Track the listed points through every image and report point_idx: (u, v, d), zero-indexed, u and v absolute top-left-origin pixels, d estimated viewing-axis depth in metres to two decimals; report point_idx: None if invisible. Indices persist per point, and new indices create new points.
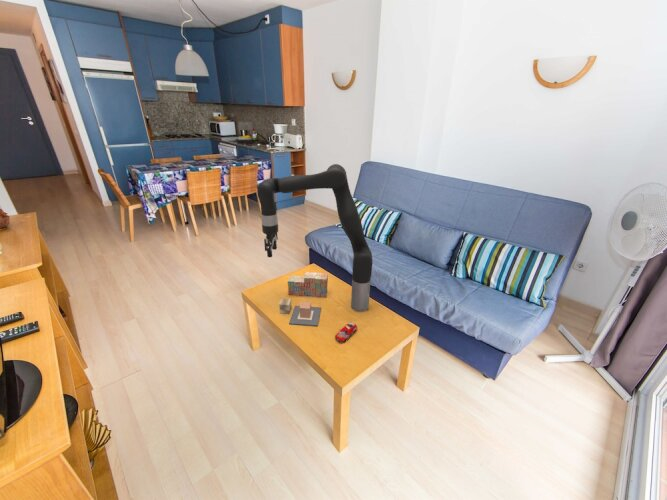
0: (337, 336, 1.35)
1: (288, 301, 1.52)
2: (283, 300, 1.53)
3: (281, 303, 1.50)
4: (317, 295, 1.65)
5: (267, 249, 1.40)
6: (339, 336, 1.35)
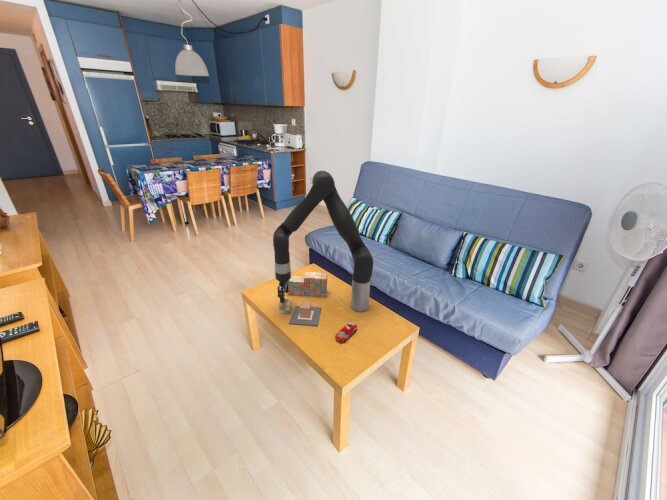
0: (337, 336, 1.35)
1: (288, 301, 1.52)
2: None
3: (281, 303, 1.50)
4: (317, 295, 1.66)
5: (280, 296, 1.42)
6: (339, 336, 1.35)
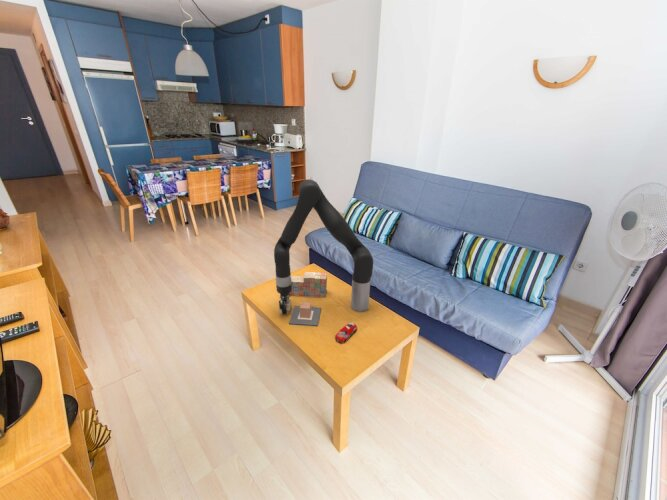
0: (337, 336, 1.35)
1: (288, 301, 1.52)
2: None
3: None
4: (316, 295, 1.66)
5: (282, 308, 1.47)
6: (339, 336, 1.35)
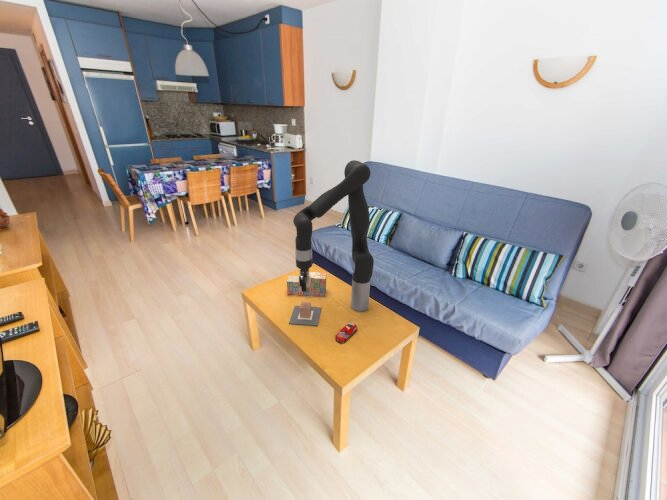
0: (337, 336, 1.35)
1: (308, 278, 1.41)
2: None
3: None
4: (316, 295, 1.66)
5: (302, 284, 1.36)
6: (339, 336, 1.35)
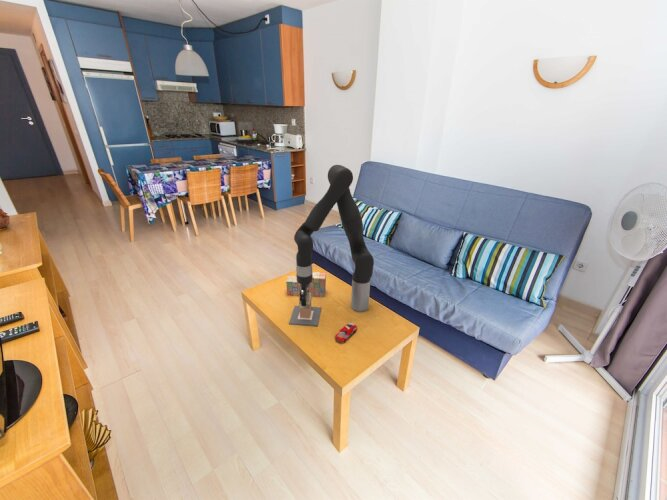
0: (337, 336, 1.35)
1: (308, 295, 1.45)
2: None
3: None
4: (316, 294, 1.66)
5: (302, 299, 1.38)
6: (339, 336, 1.35)
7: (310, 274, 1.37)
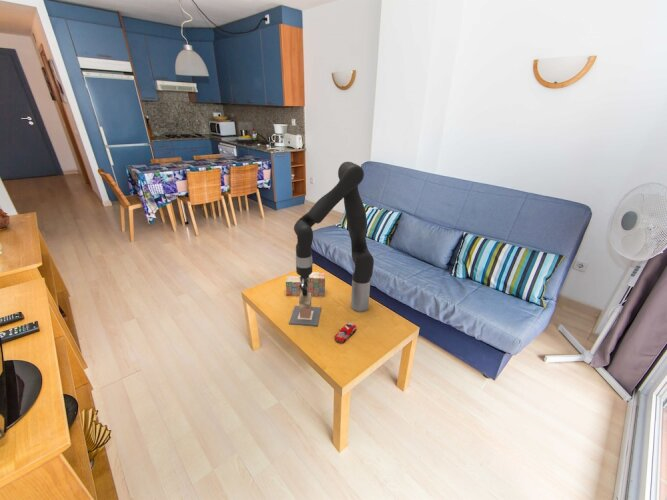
0: (336, 336, 1.35)
1: (308, 295, 1.45)
2: None
3: (301, 297, 1.44)
4: (315, 294, 1.66)
5: None
6: (338, 336, 1.35)
7: (310, 265, 1.35)
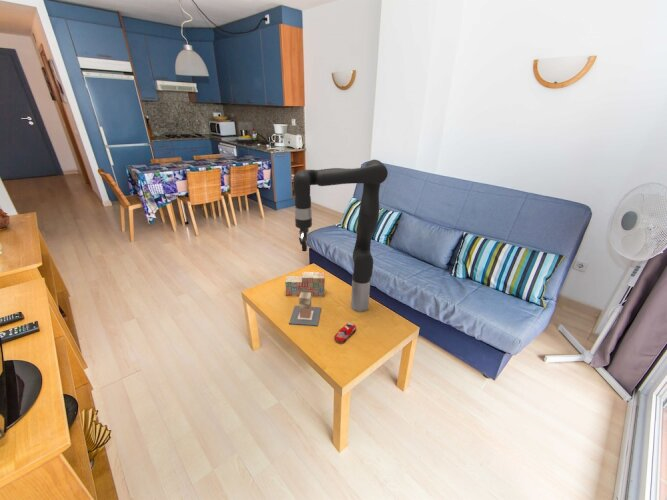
0: (336, 336, 1.35)
1: (308, 295, 1.45)
2: (303, 294, 1.46)
3: (301, 297, 1.44)
4: (315, 294, 1.66)
5: (303, 243, 1.37)
6: (338, 337, 1.35)
7: (309, 217, 1.33)
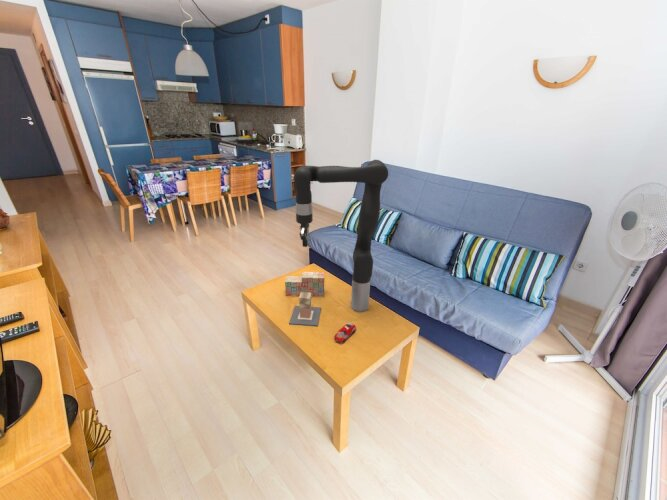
0: (336, 336, 1.35)
1: (308, 295, 1.45)
2: (303, 294, 1.46)
3: (301, 297, 1.44)
4: (315, 294, 1.66)
5: (303, 238, 1.38)
6: (338, 337, 1.35)
7: (310, 213, 1.34)
